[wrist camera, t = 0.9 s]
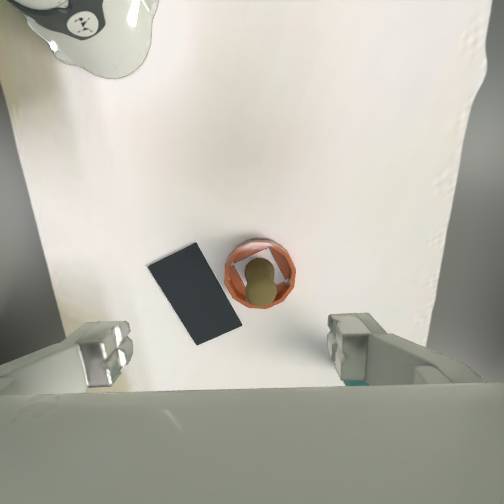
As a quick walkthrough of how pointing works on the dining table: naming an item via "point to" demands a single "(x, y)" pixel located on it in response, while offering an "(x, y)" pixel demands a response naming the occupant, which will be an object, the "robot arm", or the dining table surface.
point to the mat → (195, 294)
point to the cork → (260, 282)
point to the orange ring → (248, 250)
